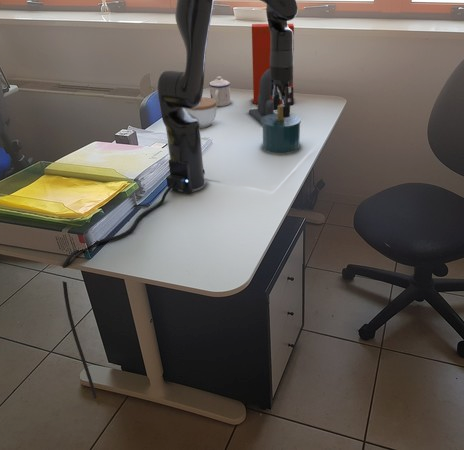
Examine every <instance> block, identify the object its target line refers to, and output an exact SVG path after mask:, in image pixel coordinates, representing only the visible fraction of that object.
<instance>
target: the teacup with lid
mask: <svg viewBox="0 0 464 450" xmlns="http://www.w3.org/2000/svg"><path fill="white" fill-rule="evenodd" d="M208 85H209V92H210V98H212V99H215V100H216V107H225V106H229V105H230V104H231V82H230V81H229V80H226V79H224V78H222V76H217V77H216V79H214V80H212V81H210V82H209V84H208Z"/></svg>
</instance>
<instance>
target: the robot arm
mask: <svg viewBox="0 0 464 450" xmlns="http://www.w3.org/2000/svg"><path fill="white" fill-rule="evenodd" d="M259 1H260V2H263V3H265V4H266V7H265V14H266V19H267V24H268V25H269V30H270V34H271V51H270V95H272V98H273V109H274V111H278V105H281V104H282V105H283V117H284V118H286V117H289V116H290V114H291V107H292V106H294V85H293V86H292V87H289V80H291V79H293V80H294V51H293V32H292V30H291V29H290V28H289V27H288V25H287V24H288V22H289V21H292V20H294V19H295V17H296V16H297V15H298V11H299V6H298V1H297V0H259ZM214 2H215V1H214V0H176V5H175V13H174V14H175V15H174V16H175V18H174V19H175V22H176V23H175V24H176V25H177V29H178V31H179V34H180V37H181V39H182V41H183V44H184V48H185V54H186V59H185V60H186V61H185V69H184V71H182V70H174V69H166V70H163V71H162V72H161V73H160V75H159V77H158V80H157V97H158V103H159V107H160V114H161V118H162V123H163V125H164V127H165V130H166V137H167V138H166V139H167V147H168V154H169V155H168V156H169V160H168V167H169V168H168V169H169V175H168V176H166V177H165V178H166V179H165V180H166V186H167V189H166V190H165V191H164V193H163V194H162V197H161V200H159V202H158V203H157V204H156V205H154V206H152V207H150V208H148V209H146V210H145V211H143V212H141V214H139V215H138V216H137V217H136V219H135V220H134V222H133V223H132V225H131V226H130V227H129V228H128V229H127V230H126V231H124V232H121V233H120V234H117V235H114V236H110V237H107V238H102V239H99V240H100V241H98V240H95V241H96V242H95V241H94V242H95V243H94V244H93V245H92V246H91V247H93V246H96V245H100V244H102V243H107V242H111V241H115V240H118V239H121V238H123V237H125V236H127V235H129V234H130V233H131V232H132V231H133V230H134V229H135V228H136V227H137V225H138V223H139V221H140V220H141V219H142V218H143V217H144V216H146V215H148V214H149V213H151V212H153V211H154V210H156V209H157V208H159V207H160V206H161V205H162V204H163V203H164V201H166V198H167V196H168V193H169V192H170V191H175V192H181V193H184V194H191V193H194V192H198V191H200V190H202V189H203V188H204V187H205V186H206V181H205V175H206V171H205V169H204V161H203V150H202V149H203V148H202V137H201V128H200V125H199V120H198V119H197V118H196V117H195V116H193V115H191V114H190V113H188V112H187V111H186V110H185V109H184V108H191V109H192V108H196V107H197V106H198V105H199V103H200V101H201V98H202V97H203V93H204V84H205V69H206V55H207V47H208V39H209V33H210V27H211V21H212V16H213V15H212V14H213V8H214ZM279 98H280V99H279ZM290 98H291V101H290ZM280 100H282V103H281V104H280ZM83 251H84V250H83V249H82V250H80V251H79V250H77V249H75V250H74V251H72V252H71V253H70V254H69V255H68V256H67V258H66V259H65V261H64V262H63V265H62V269H66V268H67V267H68V266H69V263H70V262H71V260H72V259H73V257H74V256H75V255H77V254H78V253H81V252H83ZM62 288H63V297H64V303H65V309H66V312H67V317H68V322H69V325H70V328H71V332H72V335H73V338H74V342H75V345H76V348H77V350H78V351H77V352H78V354H79V357H80V359H81V363H82V365H83V368H84V371H85V374H86V377H87V380H88V383H89V386H90V390H91V393H92V396H93V399H97V398H98V396H97V393H96V389H95V386H94V382H93V379H92V376H91V373H90V370H89V367H88V364H87V360H86V357H85V355H84V352H83V349H82V345H81V343H80V340H79V337H78V333H77V329H76V327H75V322H74V319H73V314H72V310H71V305H70V298H69V292H68V284H67V282H66V281H64V280H62Z"/></svg>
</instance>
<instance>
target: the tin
mask: <svg viewBox="0 0 464 450" xmlns="http://www.w3.org/2000/svg"><path fill="white" fill-rule="evenodd" d="M300 134H301V123H300V124H299V125H297V126H294V127H289V128H273V127H268V126H265V125H262V148H263V150H265V151H267V152H270V153H274V154H275V153H276V154H288V153H292V152H295V151H297V150H298V149H299V148H300V139H301V138H300Z"/></svg>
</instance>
